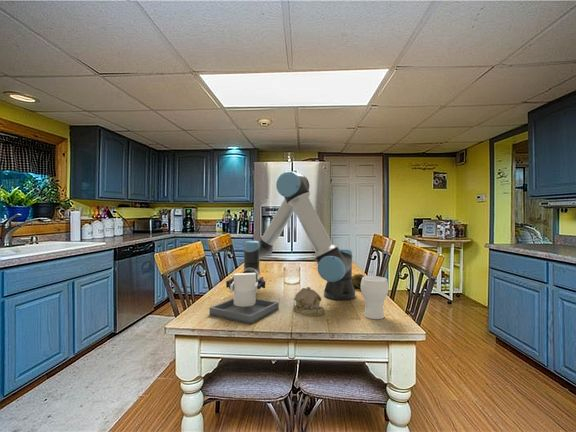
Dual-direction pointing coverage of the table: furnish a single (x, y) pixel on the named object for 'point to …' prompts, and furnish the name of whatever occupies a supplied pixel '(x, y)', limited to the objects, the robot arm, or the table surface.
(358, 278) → the potato
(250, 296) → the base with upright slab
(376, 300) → the cup
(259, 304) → the box
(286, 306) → the table surface
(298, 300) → the ceramic model
